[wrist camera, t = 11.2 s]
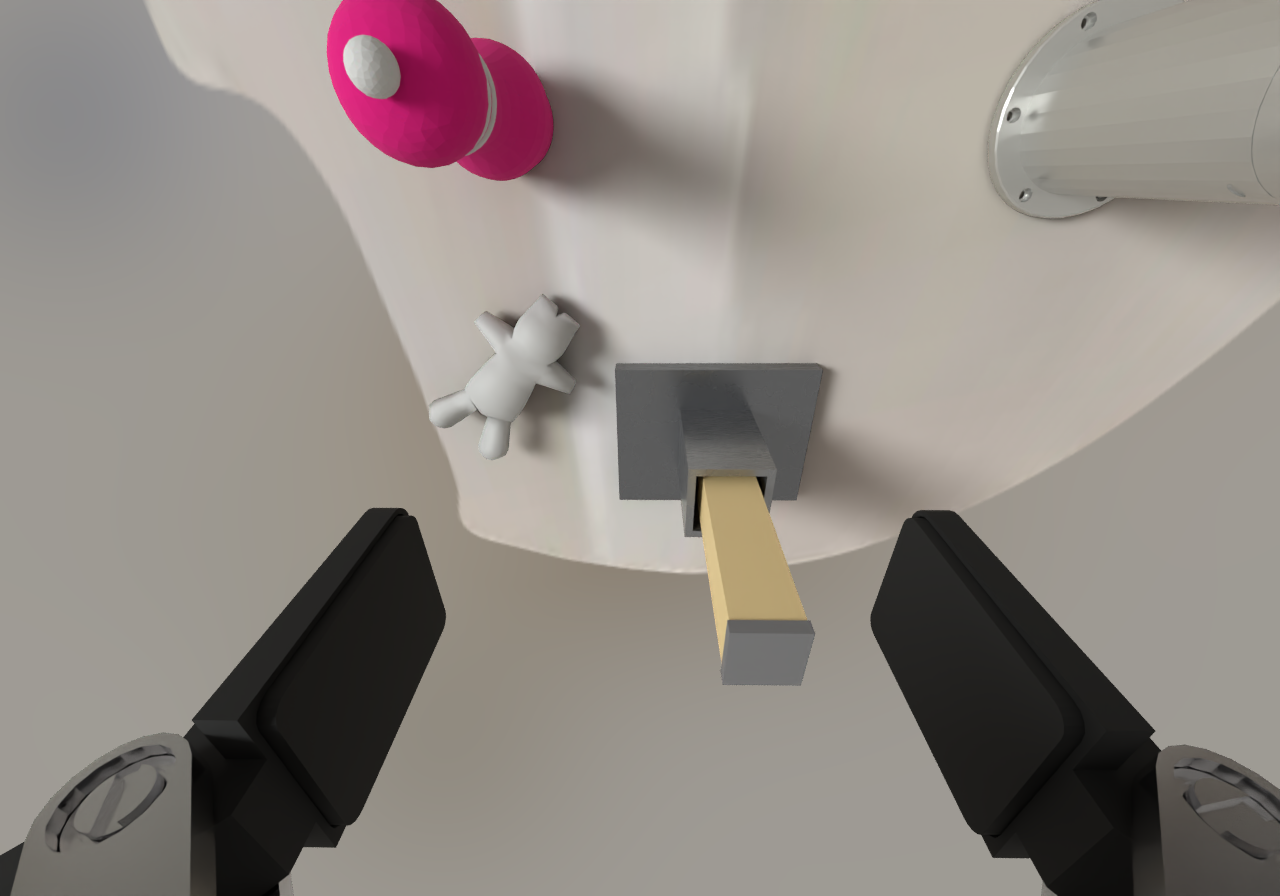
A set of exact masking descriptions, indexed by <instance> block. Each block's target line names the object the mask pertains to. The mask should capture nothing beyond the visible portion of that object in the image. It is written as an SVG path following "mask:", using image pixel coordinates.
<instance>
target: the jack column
mask: <svg viewBox="0 0 1280 896" xmlns="http://www.w3.org/2000/svg"><path fill="white" fill-rule="evenodd" d="M697 504H698V511H699V517H700V524H701V531H702V537H703V544H704V550H705V557H706V564H707V570H708V576H709V583H710V590H711V596H712V603H713V610H714V617H715V623H716V629H717V636H718V643H719V650H720V656H721V662H722V664H721V677H722V684H723V685H801V683H802V679H803V676H804V672H805V669H806V665H807V661H808V658H809V654H810V651H811V647H812V643H813V640H814V636H815V632H814V630H813V627H812V624H811V621H807V618H806V615H805V612H804V609H803V607H802V604H801V601H800V598H799V595H798V593H797V590H796V587H795V584H794V582H793V579H792V576H791V573H790V570H789V568H788V565H787V562H786V559H785V556H784V554H783V551H782V548H781V545H780V542H779V540H778V537H777V534H776V531H775V528H774V526H773V523H772V520H771V517H770V515H769V512H768V509H767V506H766V503H765V501H764V498H763V495H762V492H761V489H760V487H759V484H758V481H757V478H756V476H698V483H697Z"/></svg>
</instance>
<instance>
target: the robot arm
mask: <svg viewBox="0 0 1280 896" xmlns="http://www.w3.org/2000/svg"><path fill="white" fill-rule="evenodd" d="M1007 115H1008V118H1007ZM988 166H989V172H990V177H991V180H992V182H993V185H994V187H995V189H996V191H997V193H998V194H999V195H1000V197H1001V198H1002V199H1003V200H1004V202H1005V203H1006V204H1008V205H1009V206H1011V207H1012V208H1013V209H1015V210H1016V211H1018V212H1021V213H1024V214H1026V215H1029V216H1035V217H1042V218H1065V217H1070V216H1075V215H1080V214H1082V213H1085V212H1088V211H1090V210H1093V209H1096V208H1098V207H1100V206H1102V205H1104V204H1106V203H1107V202H1109V201H1111V200H1113V199H1115V198H1116V197H1119V198H1140V199H1160V200H1181V201H1202V202H1223V203H1243V204H1264V205H1280V0H1188V1H1184V0H1098V1H1096V2H1093V3H1091V4H1089V5H1087V6H1085V7H1082V8H1081V9H1079V10H1078V11H1076V12H1075V13H1073V14H1072V15H1070V16H1069V17H1067V18H1066V19H1064V20H1063V21H1061V22H1060V23H1059V24H1058V25H1056V26H1055V27H1054V28H1053V29H1052V30H1051V31H1050V32H1048V33H1047V34H1046V35H1045V36H1044V37H1043V38H1042V39H1041V40H1040V41H1039V42H1038V43H1037V44H1036V45H1035V47H1034V48H1033V49H1032V50H1031V51H1030V52H1029V53H1028V55H1027V56H1026V57H1025V58H1024V59H1023V61H1022V62H1021V64H1020V65H1019V67H1018V68H1017V70H1016V71H1015V73H1014V74H1013V76H1012V77H1011V79H1010V80H1009V82H1008V84H1007V86H1006V88H1005V90H1004V92H1003V94H1002V96H1001V98H1000V100H999V103H998V106H997V108H996V111H995V114H994V117H993V120H992V123H991V129H990V134H989V139H988ZM445 620H446V613H445V608H444V605H443V602H442V599H441V596H440V592H439V589H438V586H437V582H436V579H435V576H434V573H433V570H432V567H431V564H430V560H429V557H428V554H427V551H426V548H425V545H424V541H423V538H422V535H421V532H420V529H419V525H418V522H417V520H416V518H415V517H414V516H409V515H408V513H407V511H406V510H405V509H402V508H372V509H369V510H368V511H367V512H365V513H364V515H363V516H362V517H361V518H360V520H359V521H358V522H357V523H356V524H355V525H354V527H353V528H352V529H351V530H350V531H349V532H348V534H347V535H346V536H345V537H344V538H343V540H342V541H341V542H340V543H339V545H338V546H337V547H336V548H335V549H334V550H333V552H332V553H331V554H330V555H329V556H328V558H327V559H326V560H325V561H324V562H323V564H322V565H321V566H320V567H319V568H318V570H317V571H316V572H315V573H314V574H313V576H312V577H311V578H310V579H309V580H308V582H307V583H306V584H305V585H304V586H303V588H302V589H301V590H300V591H299V592H298V593H297V595H296V596H295V597H294V598H293V599H292V601H291V602H290V603H289V604H288V605H287V607H286V608H285V609H284V610H283V612H282V613H281V614H280V615H279V616H278V617H277V619H276V620H275V621H274V622H273V624H272V625H271V626H270V627H269V628H268V630H267V631H266V632H265V633H264V634H263V635H262V637H261V638H260V639H259V640H258V641H257V643H256V644H255V645H254V646H253V647H252V648H251V650H250V651H249V652H248V653H247V654H246V656H245V657H244V658H243V659H242V660H241V662H240V663H239V664H238V665H237V666H236V668H235V669H234V670H233V671H232V672H231V674H230V675H229V676H228V677H227V679H226V680H225V681H224V682H223V683H222V684H221V686H220V687H219V688H218V689H217V691H216V692H215V693H214V694H213V695H212V696H211V698H210V699H209V700H208V701H207V702H206V703H205V705H204V706H203V707H202V708H201V710H200V711H199V712H198V713H197V714H196V715H195V717H194V718H193V719H192V721H193V722H194V723H195V724H194V725H193V726H192V728H191V729H190V730H189V731H188V733H187V734H186V735H185V736H184V737H182V736H180V735H179V734H171V733H159V734H153V735H148V736H143V737H141V738H138V739H136V740H133V741H131V742H128V743H126V744H123V745H121V746H119V747H117V748H116V749H114V750H112V751H110V752H108V753H107V754H105V755H103V756H101V757H100V758H98V759H97V760H95V761H94V762H92V763H91V764H90V765H88V766H87V767H86V768H84V769H83V770H82V771H80V772H79V773H78V774H76V775H75V776H74V777H72V778H71V779H70V780H69V781H68V782H67V783H66V784H65V785H64V786H63V787H62V788H61V789H60V790H59V791H58V792H57V793H56V794H55V795H54V796H53V797H52V798H51V799H50V800H49V801H48V803H47V804H46V805H45V807H44V808H43V809H42V811H41V812H40V813H39V814H38V816H37V817H36V819H35V820H34V822H33V824H32V826H31V828H30V831H29V833H28V835H27V837H26V839H25V842H23V843H21V844H20V845H18V846H16V847H14V848H13V849H11V850H9V851H7V852H6V853H4V854H2V855H0V896H294V894H293V887H292V880H291V870H292V868H293V866H294V864H295V862H296V860H297V858H298V856H299V854H300V852H301V850H302V848H303V847H334V848H335V847H336V846H337V844H338V842H339V840H340V838H341V836H342V833H343V831H344V829H345V827H346V825H351V824H352V823H354V822H355V821H356V819H357V818H358V817H359V815H360V813H361V811H362V809H363V807H364V805H365V803H366V801H367V798H368V796H369V794H370V792H371V789H372V787H373V785H374V783H375V781H376V778H377V776H378V774H379V771H380V769H381V767H382V765H383V763H384V760H385V758H386V756H387V754H388V752H389V749H390V747H391V745H392V743H393V740H394V738H395V736H396V734H397V732H398V729H399V727H400V725H401V723H402V720H403V718H404V716H405V714H406V712H407V709H408V707H409V705H410V703H411V700H412V698H413V696H414V694H415V692H416V689H417V687H418V685H419V683H420V680H421V678H422V676H423V673H424V671H425V669H426V667H427V665H428V663H429V660H430V658H431V656H432V654H433V651H434V649H435V647H436V645H437V642H438V640H439V638H440V636H441V634H442V631H443V629H444V626H445ZM871 627H872V631H873V634H874V636H875V638H876V640H877V642H878V644H879V646H880V648H881V650H882V652H883V654H884V656H885V658H886V660H887V662H888V664H889V666H890V668H891V670H892V672H893V674H894V676H895V679H896V681H897V682H898V685H899V687H900V689H901V690H902V692H903V695H904V697H905V699H906V701H907V703H908V705H909V707H910V709H911V711H912V713H913V715H914V717H915V719H916V721H917V723H918V725H919V727H920V729H921V731H922V733H923V735H924V737H925V740H926V741H927V744H928V745H929V748H930V750H931V752H932V754H933V756H934V758H935V760H936V762H937V763H938V766H939V768H940V770H941V772H942V774H943V776H944V778H945V780H946V782H947V784H948V786H949V788H950V790H951V792H952V794H953V796H954V798H955V800H956V802H957V805H958V806H959V809H960V811H961V813H962V815H963V817H964V818H965V820H966V822H967V824H968V825H969V826H970V828H971V829H972V830H973V831H974V832H975V833H977V834H980V835H982V837H983V839H984V841H985V843H986V845H987V847H988V849H989V851H990V853H991V855H992V857H993V858H1031V860H1032V862H1033V864H1034V866H1035V867H1036V869H1037V871H1038V873H1039V875H1040V876H1041V878H1042V880H1043V883H1042V894H1041V896H1280V789H1278V788H1277V787H1275V786H1274V785H1273V784H1271V783H1270V782H1269V781H1267V780H1266V779H1264V778H1263V777H1262V776H1260V775H1259V774H1257V773H1255V772H1254V771H1251V770H1250V769H1248V768H1246V767H1245V766H1243V765H1241V764H1239V763H1237V762H1236V761H1234V760H1232V759H1230V758H1227V757H1225V756H1222V755H1219V754H1217V753H1215V752H1212V751H1210V750H1207V749H1203V748H1198V747H1194V746H1189V745H1176V746H1168V747H1166V748H1165V749H1164V750H1162V751H1161V750H1160V749H1159V748H1158V747H1157V746H1156V745H1155V743H1154V742H1153V741H1152V740H1151V739H1150V738H1149V737H1150V736H1151V735H1152V734H1153V733H1154V732H1155V730H1154V729H1153V728H1152V727H1151V726H1150V724H1149V723H1148V722H1147V721H1146V720H1145V719H1144V718H1143V717H1142V716H1141V715H1140V714H1139V712H1137V710H1136V709H1135V708H1134V707H1133V706H1132V705H1131V704H1130V703H1129V702H1128V700H1127V699H1126V698H1125V697H1124V696H1123V695H1122V694H1121V693H1120V692H1119V691H1118V689H1117V688H1116V687H1115V686H1114V685H1113V684H1112V683H1111V682H1110V681H1109V680H1108V679H1107V677H1106V676H1105V675H1104V674H1103V673H1102V672H1101V671H1100V670H1099V669H1098V667H1096V665H1095V664H1094V663H1093V662H1092V661H1091V660H1090V659H1089V658H1088V657H1087V656H1086V654H1085V653H1084V652H1083V651H1082V650H1081V649H1080V648H1079V647H1078V646H1077V644H1076V643H1075V642H1074V641H1073V640H1072V639H1071V638H1070V637H1069V636H1068V635H1067V634H1066V633H1065V631H1064V630H1063V629H1062V628H1061V627H1060V626H1059V625H1058V624H1057V623H1056V622H1055V620H1054V619H1053V618H1052V617H1051V616H1050V615H1049V614H1048V613H1047V612H1046V611H1045V609H1044V608H1043V607H1042V606H1041V605H1040V604H1039V603H1038V602H1037V601H1036V600H1035V598H1034V597H1033V596H1032V595H1031V594H1030V593H1029V592H1028V591H1027V590H1026V589H1025V588H1024V586H1023V585H1022V584H1021V583H1020V582H1019V581H1018V580H1017V579H1016V578H1015V577H1014V575H1013V574H1012V573H1011V572H1010V571H1009V570H1008V569H1007V568H1006V567H1005V566H1004V565H1003V564H1002V562H1001V561H1000V560H999V559H998V558H997V557H996V556H995V555H994V554H993V553H992V551H991V550H990V549H989V548H988V547H987V546H986V545H985V544H984V543H983V541H982V540H981V539H980V538H979V537H978V536H977V535H976V534H975V533H974V532H973V531H972V529H971V528H970V527H969V526H968V525H967V524H966V523H965V522H964V521H963V520H962V518H961V517H960V516H959V515H958V514H956V513H955V512H953V511H950V510H920V511H917V512H916V513H914V515H913V517H912V518H908V519H906V520H905V522H904V524H903V526H902V529H901V532H900V534H899V537H898V540H897V543H896V546H895V548H894V551H893V554H892V557H891V559H890V562H889V565H888V568H887V571H886V574H885V576H884V579H883V582H882V585H881V587H880V590H879V593H878V596H877V599H876V601H875V604H874V607H873V610H872V613H871Z"/></svg>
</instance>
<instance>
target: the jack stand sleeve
mask: <svg viewBox="0 0 1280 896" xmlns="http://www.w3.org/2000/svg"><path fill="white" fill-rule="evenodd" d="M822 372H823V370H822V368H821V367H820V366H819V365H818V364H616V368H615V378H616V407H617V436H618V465H619V494H620V500H681V506H682V516H683V525H684V535H685V537H702V531H701V524H700V517H699V511H698V504H697V483H698V476H756V478H757V481H758V484H759V487H760V489H761V492H762V495H763V498H764V501H765V503H766V506H767V509H768V512H769V513H770V507H771V502H772V500H797V495H798V490H799V485H800V480H801V475H802V470H803V465H804V460H805V455H806V450H807V446H808V441H809V436H810V431H811V426H812V421H813V416H814V411H815V406H816V401H817V396H818V391H819V387H820V382H821V377H822Z"/></svg>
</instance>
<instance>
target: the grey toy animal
mask: <svg viewBox="0 0 1280 896" xmlns="http://www.w3.org/2000/svg"><path fill="white" fill-rule="evenodd" d="M557 312H558V306H557V305H555V304H554V303H553V302H552V301H551V300H549V299H548V298H547V297H546V296H545V295H543V294H542V295H541V296H540V297H539V298H538V299H537V301H536V302H535V303H534V304H533V305H532V306H531V307H530V308H529V309H528V310H527V311H526V312H525V313H524V314H523V315H522V316H521V317H520V319H519V320H518V322H517V324H516V326H515V328H514V327H512V326H510V325H509V324H507V323H505V322H504V321H502V320H500V319H499V318H497V317H495V316H494V315H492V314H490V313H489V312H487V311H486V312H484V313H483V314H481V315H480V316H479V317H478V318H477V319H476V321H475V322H474V323H475V324H476V326H477V327H478V328H479V330H480V331H481V333H482V334H483V335H484V337H485V338H486V340H487V341H488V342H489V344H490V345H491V346H492V348H493V349H494V351H495V352H496V353H495V354H494V355H492V356H491V357H490V358H489V360H488V361H487V362H486V363H485V364H484V365H483V366H482V367H481V368H480V369H479V370H478V372H477V373H476V374H475V375H474V376H473V377H472V378H471V379H470V381H469V382H468V384H467V385H466V387H465V389H463V390H461V391H458V392H455V393H453V394H450V395H447V396H444V397H442V398H439V399H436V400H434V401H433V402H432V403H431V404H430V405H429V418H430V421H431V422H432V423H433V424H434V425H435V426H437V427H440V428H448V427H452V426H453V425H455V424H456V423H458V422H459V421H461V420H462V419H464V418H465V417H467V416H468V415H470V414H471V413H473V412H474V411H476V410H478V411H479V412H480V413H481V414H482V415H484V416H486V417H487V420H486V423H485V426H484V429H483V432H482V435H481V439H480V442H479V452H480V453H481V455H482V456H483V457H484V458H485V459H489V460H495V459H498V458H500V457H503V456H505V455H506V453H507V451H508V448H509V437H510V424H511V422H513V421H514V420H515V419H516V418H517V417H518V415H519V414H520V413H521V411H522V410H523V408H524V407H525V405H526V403H527V401H528V399H529V397H530V395H531V393H532V391H533V389H534V387H535V384H536V383H537V384H540V385H543V386H546V387H549V388H552V389H555V390H558V391H561V392H564V393H567V394H570V393H571V391H572V390H573V388H574V387H575V382H576V380H575V379H574V378H573V377H572V376H571V375H570V374H569V373H568V372H567V371H566V370H565V369H564V368H563V367H562V366H561V365H560V364H559V363H558V362H557V361H556V360H557V359H558V358H559V357H561V356H562V355H563V354H564V352H565V350H566V348H567V347H568V345H569V343H570V341H571V340H572V338H573V336H574V334H575V333H576V331H577V330H578V329H579V326H580V324H579V323H577V322H576V321H575V320H574V319H572V318H571V317H570V316H569V315H568V314H566V313H565V312H564V313H561V314H559V315H557Z"/></svg>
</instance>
